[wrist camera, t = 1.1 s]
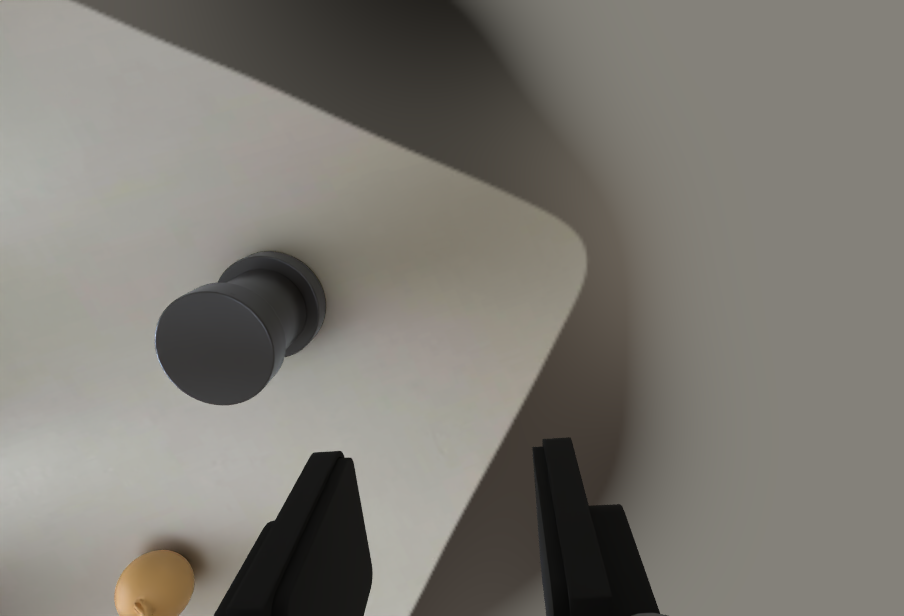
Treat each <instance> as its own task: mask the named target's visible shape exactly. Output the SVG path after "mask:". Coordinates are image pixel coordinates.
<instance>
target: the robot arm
mask: <svg viewBox="0 0 904 616" xmlns="http://www.w3.org/2000/svg"><path fill="white" fill-rule="evenodd" d="M533 463H534V477H535V489H536V490H535V491H536V504H537V519H538V532H539V546H540V560H541V571H542V581H543V590H544V599H545V606H546V616H667V615H662V614H660V612H659V609H658V606H657V604H656V601H655V598H654V595H653V592H652V589H651V586H650V583H649V581H648V578H647V575H646V572H645V569H644V566H643V564H642V561H641V558H640V555H639V552H638V549H637V546H636V543H635V541H634V538H633V535H632V532H631V529H630V527H629V524H628V521H627V518H626V515H625V512H624V510H623V507H622V506H621V505H620V504H617V505H596V506H589V505H588V502H587V498H586V494H585V490H584V487H583V483H582V479H581V475H580V471H579V467H578V463H577V460H576V456H575V452H574V448H573V444H572V440H571V438H554V439H543V447H533ZM371 585H372V563H371V558H370V552H369V546H368V541H367V535H366V530H365V524H364V518H363V513H362V507H361V502H360V496H359V490H358V485H357V479H356V474H355V468H354V463H353V460H352V458H344V455H343V453H342V452H341V451H333V452H316V453H313V454H312V455H311V456H310V458H309V460H308V462H307V464H306V465H305V467H304V469H303V471H302V473H301V474H300V476H299V478H298V480H297V482H296V483H295V485H294V487H293V489H292V491H291V492H290V494H289V496H288V498H287V500H286V502H285V503H284V505H283V507H282V509H281V511H280V512H279V514H278V516H277V518H276V520H275V521H271V522H269V523H267V524H266V526H265V527H264V528H263V530H262V532H261V533H260V535H259V537H258V539H257V541H256V542H255V544H254V546H253V548H252V549H251V551H250V553H249V555H248V556H247V558H246V560H245V562H244V563H243V565H242V567H241V569H240V570H239V572H238V574H237V576H236V577H235V579H234V581H233V583H232V584H231V586H230V588H229V590H228V591H227V593H226V595H225V597H224V598H223V600H222V602H221V604H220V605H219V607H218V609H217V611H216V612H215V614H214V616H364V612H365V608H366V604H367V601H368V597H369V593H370V589H371Z"/></svg>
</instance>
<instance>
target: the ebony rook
mask: <svg viewBox="0 0 904 616" xmlns="http://www.w3.org/2000/svg"><path fill="white" fill-rule="evenodd" d="M325 312H326V302H325V296H324V292H323V289H322V287H321V284H320V282H319V281H318V279H317V277H316V276H315V275H314V273H313V272H312V271H311V270H310V269H309V268H308V267H307V266H306V265H305V264H304V263H302V262H301V261H299V260H298V259H296V258H294V257H292V256H290V255H287V254H284V253H280V252H273V251H264V252H257V253H254V254H251V255H249V256H247V257H245V258H243V259H241V260H239V261H237V262H235V263H234V264H232V265H231V266H230V267H229V268H228V269H226V270H225V272H224V273H223V274H222V276H221V277H220V279H219V281H218V283H211V284H206V285H203V286H200V287H198V288H196V289H194V290H192V291H190V292H189V293H187V294H185V295H183V296H181V297H179V298H178V299H176V300H175V301H173V302H172V303H171V304H170V305H169V306H168V307H167V308H166V309H165V310H164V312H163V313H162V315H161V317H160V319H159V321H158V324H157V327H156V332H155V348H156V353H157V357H158V360H159V362H160V364H161V367H162V369H163V370H164V372H165V373H166V375H167V376H168V378H169V379H170V380H171V381H172V382H173V383H174V384H175V385H176V386H177V387H178V388H179V389H180V390H182V391H183V392H184V393H186V394H187V395H189V396H191V397H193V398H195V399H197V400H199V401H202V402H205V403H209V404H214V405H233V404H238V403H242V402H244V401H247V400H249V399H251V398H252V397H254V396H256V395H257V394H258V393H259V392H261V390H262V389H263V388H264V387H265V386H266V385H267V384H268V383H269V381H270V380H271V379H272V378H273V377H274V376H275V375H276V373H277V372H278V370H279V369H280V367H281V365H282V363H283V360H284V357H287V356H291V355H293V354H295V353H297V352H299V351H300V350H302V349H303V348H304V347H305V346H307V344H308V343H309V342H310V341H311V340H312V339H313V338H314V336H315V335H316V334H317V333H318V331H319V330H320V328H321V326H322V324H323V321H324V318H325Z"/></svg>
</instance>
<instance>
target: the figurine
mask: <svg viewBox="0 0 904 616" xmlns="http://www.w3.org/2000/svg"><path fill="white" fill-rule="evenodd" d="M193 589H194V574H193V570H192V568H191V565H190V564H189V562H188V561H187V560H186V559H185V558H184V557H183V556H182V555H180V554H178V553H176V552H174V551H170V550H155V551H151V552H148V553H145V554H143V555H141V556H139V557H138V558H136V559H135V560H134V561H132V562H131V563H130V564H129V565H128V566H127V567H126V568H125V570H124V571H123V572H122V574H121V576H120V578H119V580H118V582H117V585H116V588H115V595H114V600H115V606H116V609H117V612H118V614H119V615H120V616H178V615H179V614H180V613H181V612H182V611H183V610H184V609H185V607H186V606H187V604H188V602H189V601H190V598H191V596H192V593H193Z"/></svg>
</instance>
